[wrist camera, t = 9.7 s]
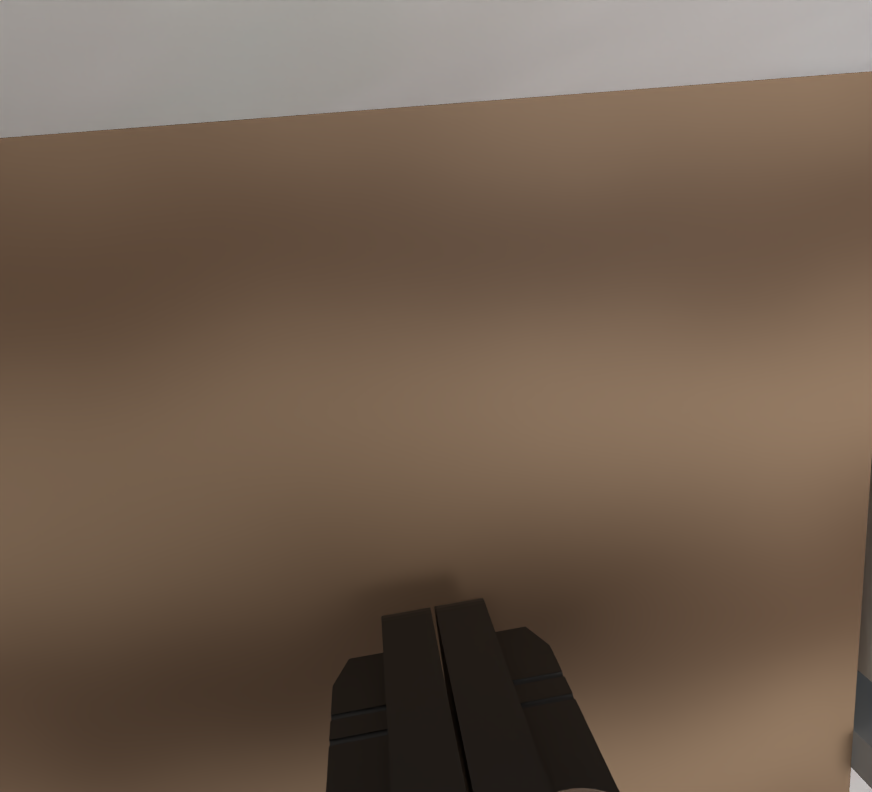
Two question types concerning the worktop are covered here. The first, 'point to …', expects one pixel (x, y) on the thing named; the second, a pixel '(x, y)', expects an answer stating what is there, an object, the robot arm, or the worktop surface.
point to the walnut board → (438, 426)
